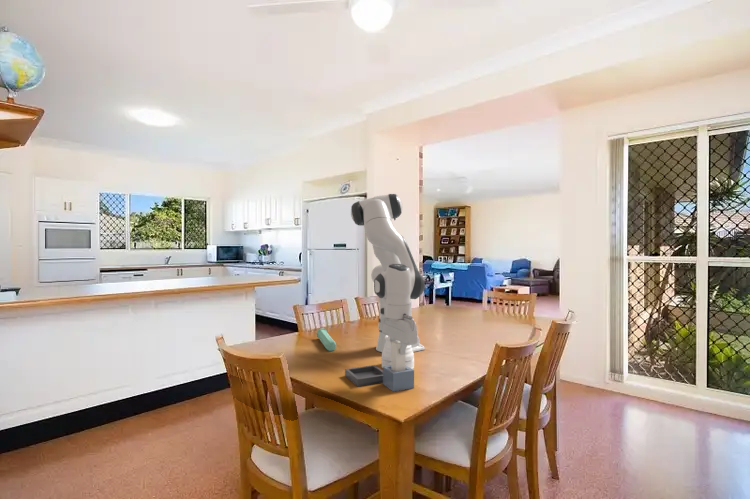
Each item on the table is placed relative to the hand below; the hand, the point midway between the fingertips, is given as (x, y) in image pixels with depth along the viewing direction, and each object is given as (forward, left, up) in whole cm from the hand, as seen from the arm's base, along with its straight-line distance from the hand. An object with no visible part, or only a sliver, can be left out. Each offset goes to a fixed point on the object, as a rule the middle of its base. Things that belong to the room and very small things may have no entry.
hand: (398, 352), depth 135 cm
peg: (0, 0, -12) cm, 12 cm away
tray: (+7, -11, -12) cm, 17 cm away
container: (+6, -63, -12) cm, 64 cm away
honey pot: (-10, -19, -12) cm, 25 cm away
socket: (0, 0, -12) cm, 12 cm away
